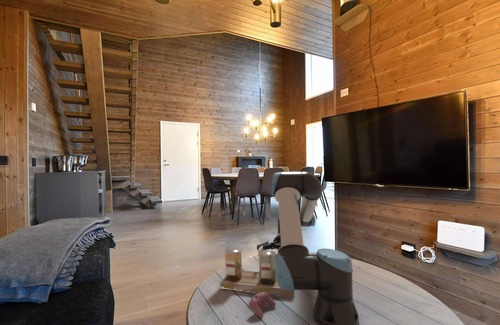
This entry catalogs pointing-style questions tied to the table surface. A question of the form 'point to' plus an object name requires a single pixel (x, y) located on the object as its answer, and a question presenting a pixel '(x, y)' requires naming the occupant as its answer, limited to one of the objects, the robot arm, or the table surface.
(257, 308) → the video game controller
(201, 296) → the table surface
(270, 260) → the green tin
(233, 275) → the mustard tin
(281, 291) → the wooden tray
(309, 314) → the table surface
